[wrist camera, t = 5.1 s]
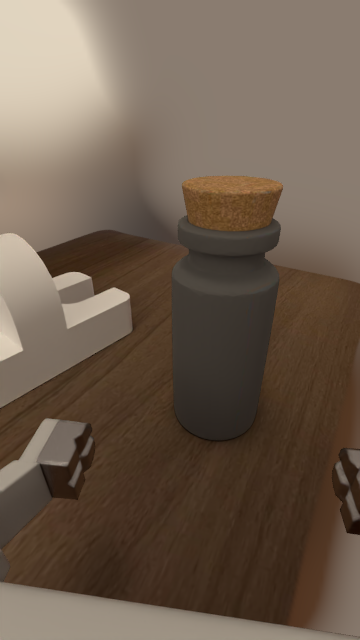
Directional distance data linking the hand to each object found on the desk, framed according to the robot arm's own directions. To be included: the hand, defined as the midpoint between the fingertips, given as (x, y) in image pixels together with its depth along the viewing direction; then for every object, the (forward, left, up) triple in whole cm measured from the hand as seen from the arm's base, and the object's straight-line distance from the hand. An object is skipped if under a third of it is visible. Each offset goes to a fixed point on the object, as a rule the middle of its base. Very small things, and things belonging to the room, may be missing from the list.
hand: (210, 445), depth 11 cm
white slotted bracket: (+16, +14, -9) cm, 23 cm away
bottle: (+9, -2, -9) cm, 13 cm away
